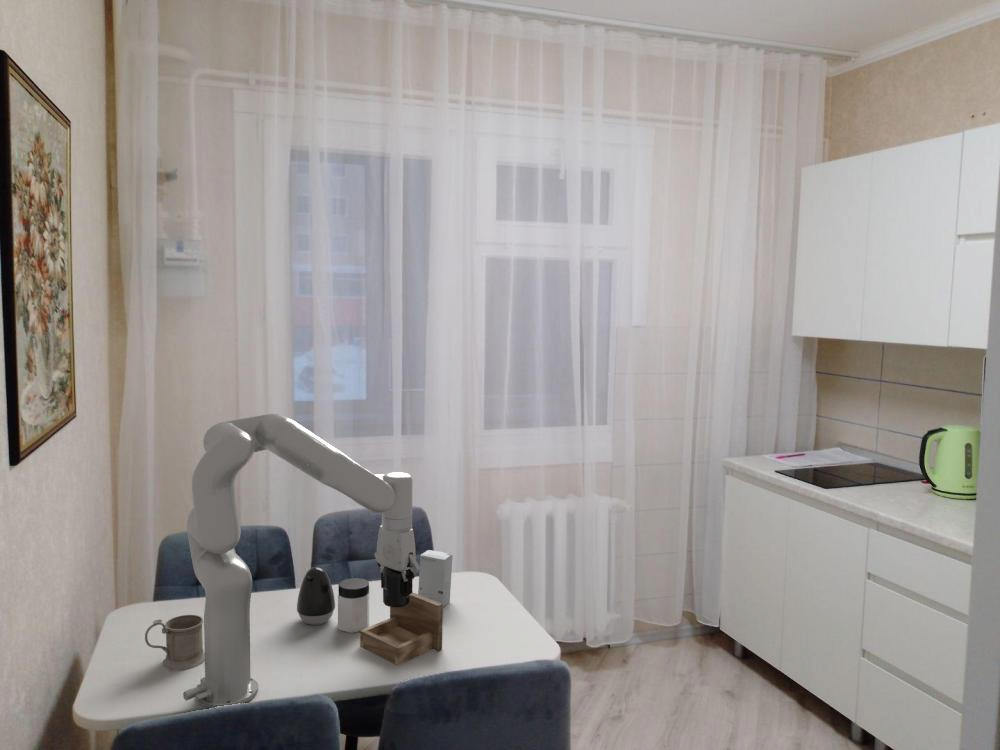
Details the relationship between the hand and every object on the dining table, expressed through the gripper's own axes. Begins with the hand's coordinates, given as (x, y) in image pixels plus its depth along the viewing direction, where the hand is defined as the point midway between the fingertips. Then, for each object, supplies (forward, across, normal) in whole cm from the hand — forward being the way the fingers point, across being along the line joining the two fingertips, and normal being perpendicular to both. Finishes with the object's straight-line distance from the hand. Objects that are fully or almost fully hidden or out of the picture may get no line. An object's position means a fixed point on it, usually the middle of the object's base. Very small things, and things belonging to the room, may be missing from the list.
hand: (396, 590), depth 189 cm
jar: (+16, -18, +1) cm, 24 cm away
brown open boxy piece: (+15, 0, +1) cm, 15 cm away
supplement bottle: (+3, 0, 0) cm, 3 cm away
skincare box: (+16, -13, +27) cm, 34 cm away
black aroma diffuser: (+16, -28, -4) cm, 32 cm away
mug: (+15, -33, -41) cm, 55 cm away
